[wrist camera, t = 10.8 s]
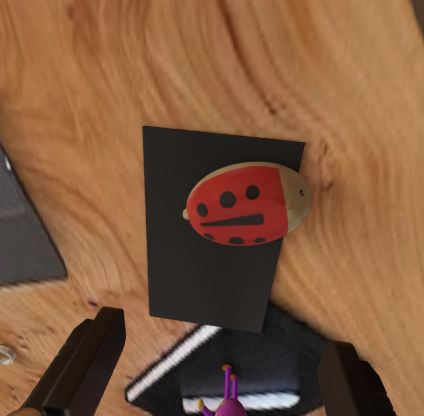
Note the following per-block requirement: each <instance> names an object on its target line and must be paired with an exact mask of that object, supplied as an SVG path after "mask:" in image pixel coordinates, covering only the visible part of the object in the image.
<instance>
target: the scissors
mask: <svg viewBox="0 0 424 416" xmlns="http://www.w3.org/2000/svg"><path fill="white" fill-rule="evenodd" d="M0 353H4V354H5V355H7V356H8V357H9V359H7V358H3V357H0V364H3V365H7V364H11V363H12V362H13V361H14V359H15V358H16V353H15V352H14V351H13V350H12V349H11V348H8V347H6V346H3V345H0Z"/></svg>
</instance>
